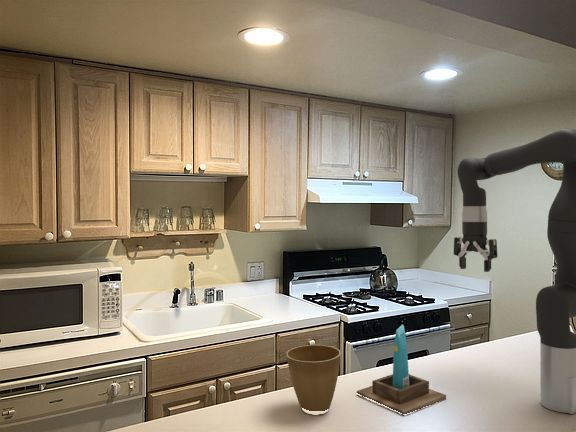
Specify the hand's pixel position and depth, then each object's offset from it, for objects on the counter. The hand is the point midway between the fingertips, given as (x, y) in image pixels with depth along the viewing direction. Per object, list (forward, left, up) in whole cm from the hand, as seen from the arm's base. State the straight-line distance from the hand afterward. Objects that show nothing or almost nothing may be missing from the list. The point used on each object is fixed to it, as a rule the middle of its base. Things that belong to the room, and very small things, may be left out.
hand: (474, 270), depth 156 cm
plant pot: (+12, +58, -34) cm, 68 cm away
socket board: (+3, +33, -34) cm, 48 cm away
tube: (+3, +33, -33) cm, 47 cm away
